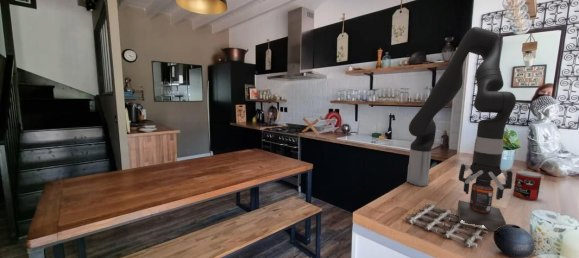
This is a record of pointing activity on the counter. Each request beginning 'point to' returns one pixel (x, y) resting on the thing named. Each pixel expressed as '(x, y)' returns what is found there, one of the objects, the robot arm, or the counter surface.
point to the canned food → (527, 185)
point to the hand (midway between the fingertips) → (481, 196)
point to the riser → (480, 216)
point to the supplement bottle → (481, 196)
